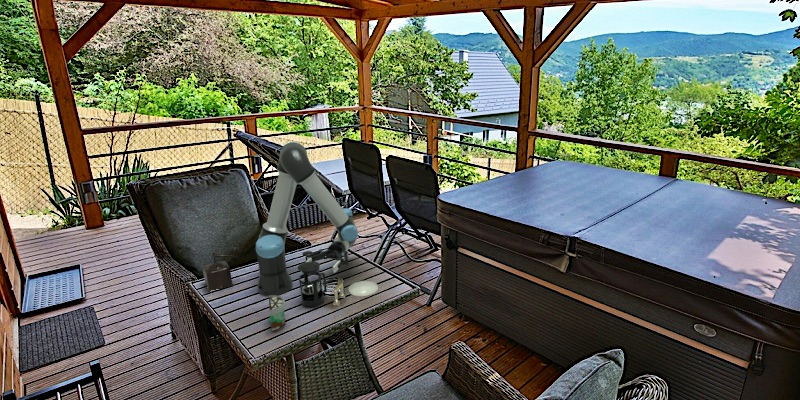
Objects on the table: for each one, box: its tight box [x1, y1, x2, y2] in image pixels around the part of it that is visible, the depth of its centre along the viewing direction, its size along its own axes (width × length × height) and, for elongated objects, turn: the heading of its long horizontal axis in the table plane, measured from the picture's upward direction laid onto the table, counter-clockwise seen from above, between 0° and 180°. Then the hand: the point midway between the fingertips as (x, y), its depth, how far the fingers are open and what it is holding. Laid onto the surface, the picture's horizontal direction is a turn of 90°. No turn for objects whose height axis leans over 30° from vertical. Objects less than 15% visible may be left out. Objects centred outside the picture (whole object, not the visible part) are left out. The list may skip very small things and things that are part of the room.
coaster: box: [348, 280, 379, 298], centre depth 198 cm, size 13×13×1 cm
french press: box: [297, 250, 327, 309], centre depth 186 cm, size 12×9×23 cm
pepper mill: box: [202, 246, 240, 291], centre depth 205 cm, size 16×11×18 cm
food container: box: [267, 295, 287, 333], centre depth 173 cm, size 12×6×10 cm, turn 17°
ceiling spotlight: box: [332, 275, 346, 307], centre depth 191 cm, size 4×13×7 cm, turn 179°
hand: (318, 268), depth 190 cm, fingers open, 13 cm apart
